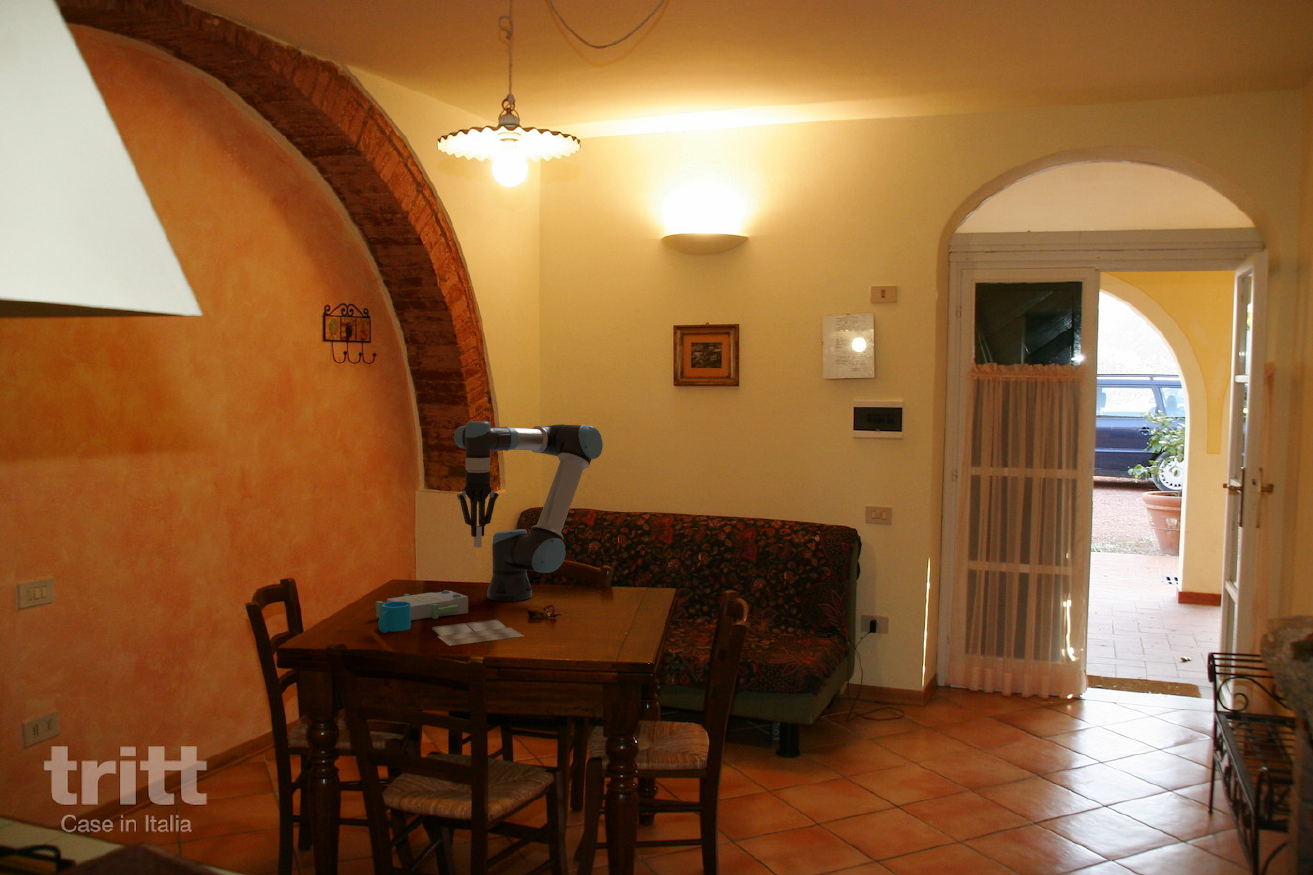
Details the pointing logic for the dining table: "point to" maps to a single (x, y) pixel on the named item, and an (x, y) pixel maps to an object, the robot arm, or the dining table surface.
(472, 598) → the dining table surface
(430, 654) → the dining table surface
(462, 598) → the decorative block
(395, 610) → the mug
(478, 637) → the floor board
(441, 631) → the plank
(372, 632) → the dining table surface
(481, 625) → the grey rectangular panel
